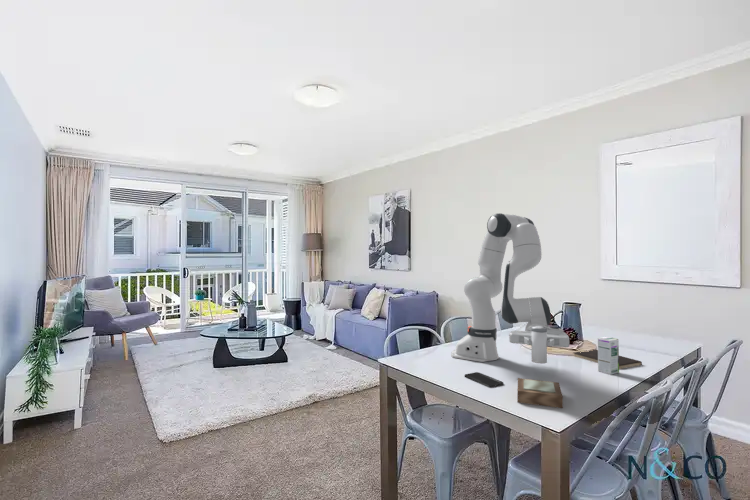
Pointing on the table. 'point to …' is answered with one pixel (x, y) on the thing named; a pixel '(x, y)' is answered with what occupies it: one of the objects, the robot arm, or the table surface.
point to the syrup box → (608, 355)
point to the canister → (539, 344)
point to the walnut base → (539, 393)
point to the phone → (484, 379)
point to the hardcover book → (593, 356)
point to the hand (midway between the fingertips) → (539, 343)
